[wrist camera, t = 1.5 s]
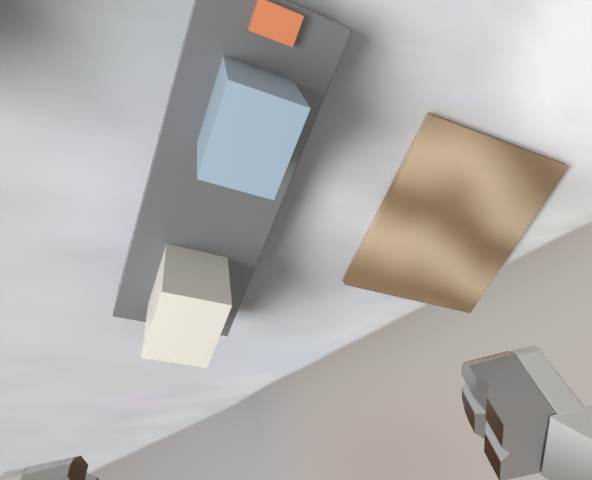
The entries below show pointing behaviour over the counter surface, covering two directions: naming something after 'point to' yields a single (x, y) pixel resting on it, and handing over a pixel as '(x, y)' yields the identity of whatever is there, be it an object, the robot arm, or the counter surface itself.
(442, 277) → the oak pad
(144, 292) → the power strip
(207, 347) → the plug
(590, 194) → the counter surface
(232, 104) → the light blue block
